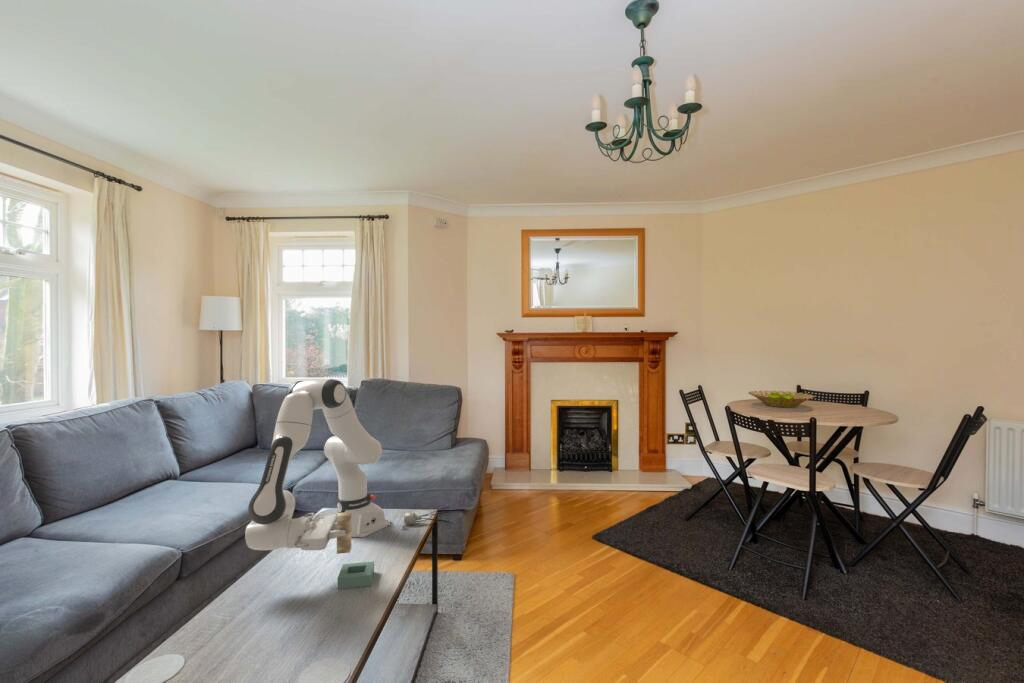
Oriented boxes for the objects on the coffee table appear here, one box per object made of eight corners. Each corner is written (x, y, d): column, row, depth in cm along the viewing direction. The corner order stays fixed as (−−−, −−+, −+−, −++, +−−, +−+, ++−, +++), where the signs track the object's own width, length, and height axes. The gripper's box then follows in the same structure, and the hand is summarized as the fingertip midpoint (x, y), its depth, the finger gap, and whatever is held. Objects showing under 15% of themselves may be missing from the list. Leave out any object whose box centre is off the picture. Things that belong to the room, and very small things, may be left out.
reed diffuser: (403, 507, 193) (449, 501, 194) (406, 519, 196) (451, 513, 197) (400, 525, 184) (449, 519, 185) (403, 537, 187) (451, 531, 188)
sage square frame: (337, 589, 140) (337, 578, 140) (342, 574, 149) (342, 564, 149) (370, 585, 142) (370, 575, 142) (373, 571, 151) (373, 561, 151)
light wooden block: (336, 553, 143) (336, 516, 143) (338, 549, 146) (338, 512, 146) (349, 552, 144) (349, 515, 144) (351, 548, 147) (351, 512, 147)
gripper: (291, 536, 132) (340, 533, 135) (310, 510, 152) (352, 508, 155) (291, 557, 132) (340, 553, 135) (310, 529, 152) (352, 526, 155)
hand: (347, 529), depth 145 cm, fingers closed on light wooden block, 3 cm apart
